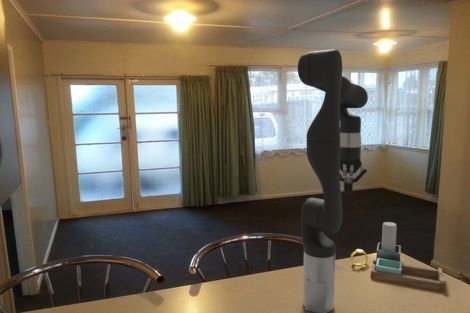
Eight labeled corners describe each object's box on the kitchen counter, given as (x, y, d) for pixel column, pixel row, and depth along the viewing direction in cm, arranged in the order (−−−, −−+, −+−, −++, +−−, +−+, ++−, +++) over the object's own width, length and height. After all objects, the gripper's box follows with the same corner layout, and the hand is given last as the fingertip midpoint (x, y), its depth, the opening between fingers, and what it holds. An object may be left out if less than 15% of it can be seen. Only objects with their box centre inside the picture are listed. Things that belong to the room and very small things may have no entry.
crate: (400, 281, 120) (401, 270, 119) (375, 276, 123) (376, 265, 123) (401, 272, 126) (401, 261, 125) (377, 268, 129) (377, 257, 129)
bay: (443, 292, 113) (444, 281, 113) (370, 279, 123) (370, 268, 122) (440, 278, 122) (441, 268, 121) (372, 267, 132) (373, 257, 131)
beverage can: (392, 251, 135) (394, 221, 134) (397, 257, 131) (398, 226, 129) (379, 251, 136) (381, 221, 134) (383, 256, 131) (385, 225, 129)
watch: (365, 264, 135) (367, 249, 134) (367, 267, 132) (369, 252, 131) (349, 262, 135) (351, 248, 134) (351, 266, 133) (353, 251, 132)
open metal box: (399, 270, 129) (400, 253, 128) (376, 266, 132) (376, 250, 131) (399, 261, 136) (400, 245, 135) (377, 258, 139) (378, 242, 138)
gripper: (328, 145, 124) (327, 193, 126) (368, 147, 118) (366, 197, 120) (332, 143, 130) (331, 188, 133) (370, 144, 125) (368, 192, 127)
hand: (348, 192), depth 127 cm, fingers closed
